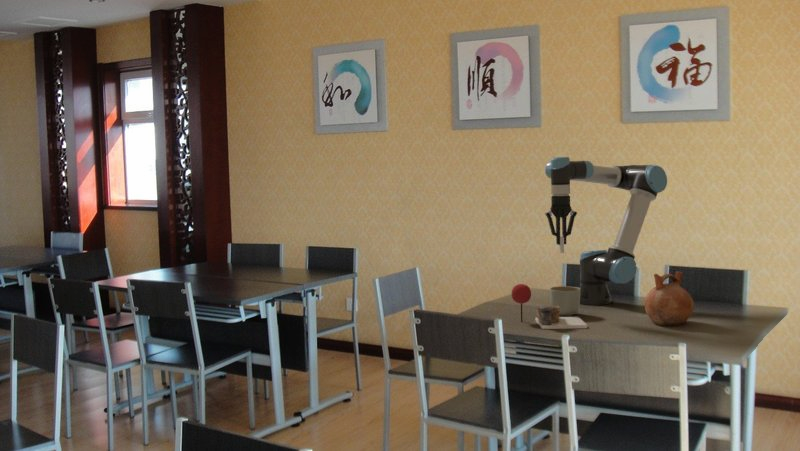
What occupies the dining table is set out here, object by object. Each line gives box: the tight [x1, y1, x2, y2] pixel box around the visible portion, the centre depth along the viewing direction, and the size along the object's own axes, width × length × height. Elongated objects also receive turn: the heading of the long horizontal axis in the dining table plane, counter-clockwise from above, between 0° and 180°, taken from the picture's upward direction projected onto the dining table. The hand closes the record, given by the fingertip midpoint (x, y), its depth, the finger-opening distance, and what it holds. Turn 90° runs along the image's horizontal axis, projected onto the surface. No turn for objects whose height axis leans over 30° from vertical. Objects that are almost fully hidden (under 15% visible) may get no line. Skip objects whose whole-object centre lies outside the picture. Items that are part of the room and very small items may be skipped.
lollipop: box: [511, 283, 532, 322], centre depth 324 cm, size 8×8×15 cm
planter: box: [549, 285, 581, 317], centre depth 336 cm, size 12×12×11 cm
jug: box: [644, 271, 695, 327], centre depth 316 cm, size 18×18×20 cm
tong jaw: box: [539, 305, 560, 322], centre depth 317 cm, size 8×16×6 cm, turn 175°
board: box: [534, 316, 588, 330], centre depth 318 cm, size 17×16×1 cm
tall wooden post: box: [536, 306, 551, 325], centre depth 318 cm, size 4×15×6 cm, turn 0°
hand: (561, 252), depth 335 cm, fingers closed
